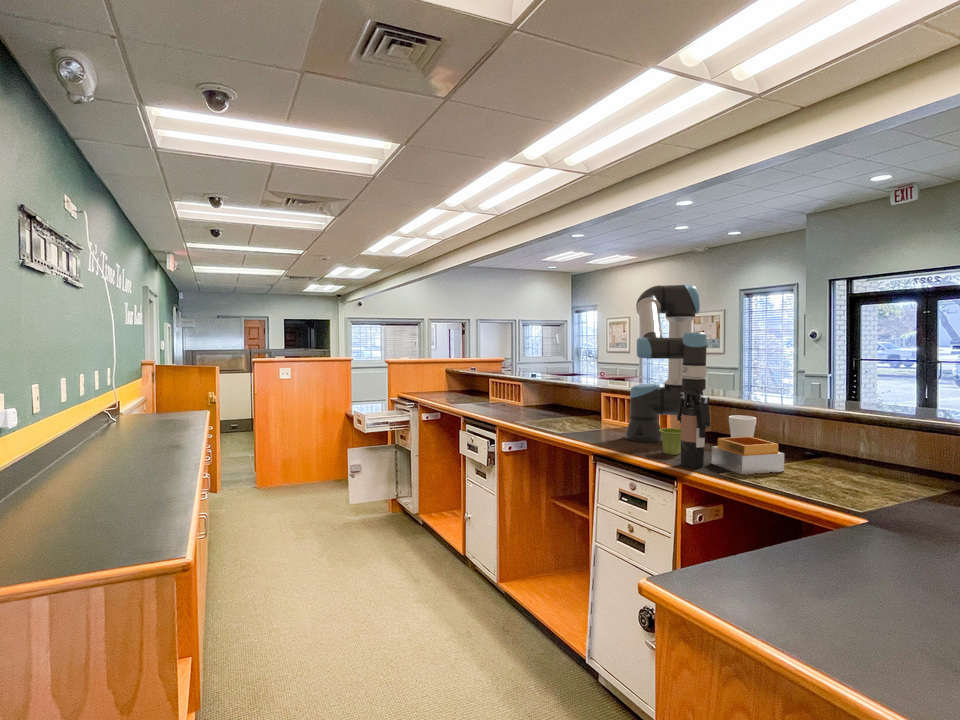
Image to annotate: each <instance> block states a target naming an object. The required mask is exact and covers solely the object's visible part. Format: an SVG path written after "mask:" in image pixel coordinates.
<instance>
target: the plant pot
mask: <svg viewBox="0 0 960 720" xmlns="http://www.w3.org/2000/svg"><path fill="white" fill-rule="evenodd" d="M659 431H660V433H661V436H662V440H661V443H662V451H663V452H662V453H664V454H666V455H672V456H677V455H681V428H672V427H671V428H670V427H669V428H668V427H665V428H664V427H663V428H661V429H660V430H659Z"/></svg>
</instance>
